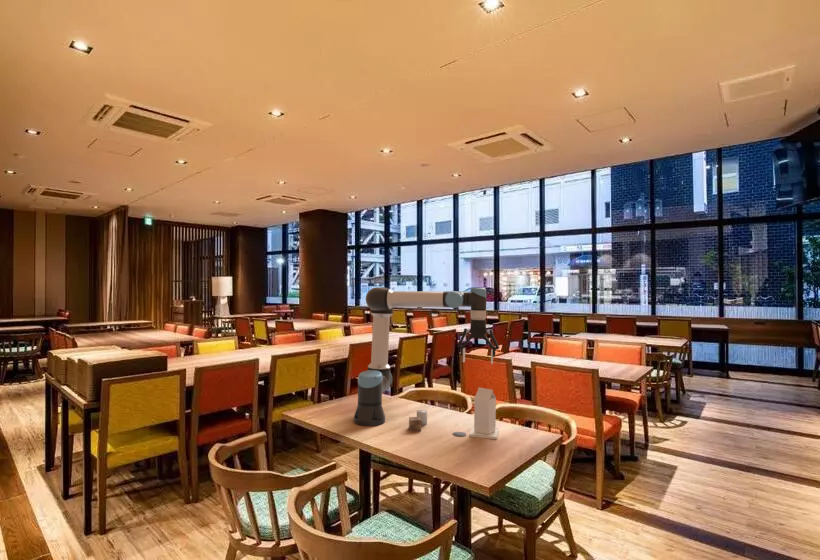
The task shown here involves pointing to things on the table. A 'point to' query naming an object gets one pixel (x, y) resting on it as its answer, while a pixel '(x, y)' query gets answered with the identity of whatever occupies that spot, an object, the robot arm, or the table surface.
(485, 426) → the milk carton
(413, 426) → the walnut block
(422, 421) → the white small cylinder
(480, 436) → the plate
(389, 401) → the table surface
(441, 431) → the table surface
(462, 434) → the slate coaster
